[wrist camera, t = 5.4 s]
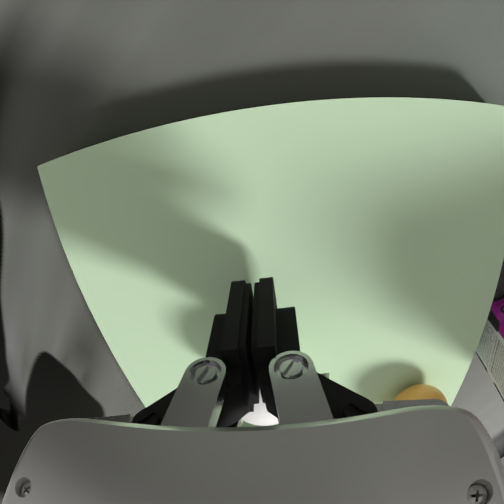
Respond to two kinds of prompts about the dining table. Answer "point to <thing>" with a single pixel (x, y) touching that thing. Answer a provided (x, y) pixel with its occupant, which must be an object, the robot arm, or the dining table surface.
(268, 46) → the dining table surface
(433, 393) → the orange ball
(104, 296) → the green deck
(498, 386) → the candy bar box
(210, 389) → the robot arm
